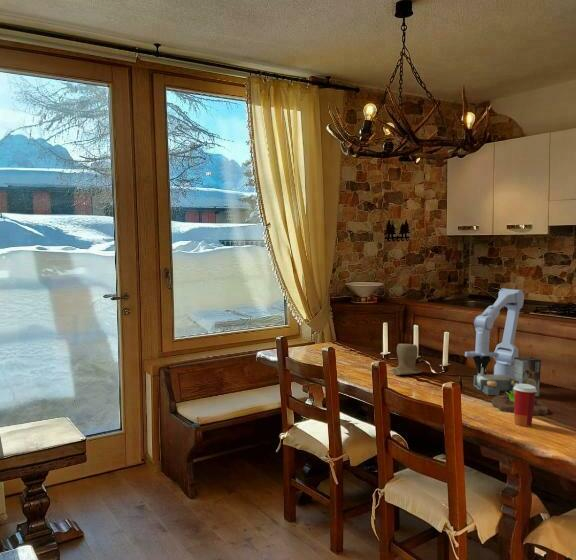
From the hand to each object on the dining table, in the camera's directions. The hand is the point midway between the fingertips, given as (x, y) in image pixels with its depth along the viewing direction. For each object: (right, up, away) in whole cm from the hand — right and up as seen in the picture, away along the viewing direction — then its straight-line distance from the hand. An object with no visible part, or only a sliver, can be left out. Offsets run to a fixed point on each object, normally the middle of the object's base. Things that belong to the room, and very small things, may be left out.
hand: (480, 372), depth 250 cm
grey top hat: (-29, -5, +25) cm, 38 cm away
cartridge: (+6, -6, +1) cm, 8 cm away
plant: (+6, -10, -27) cm, 29 cm away
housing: (+7, -8, -2) cm, 10 cm away
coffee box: (+17, -9, -7) cm, 20 cm away
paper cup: (-2, -11, -49) cm, 50 cm away
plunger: (+2, -7, -8) cm, 11 cm away
